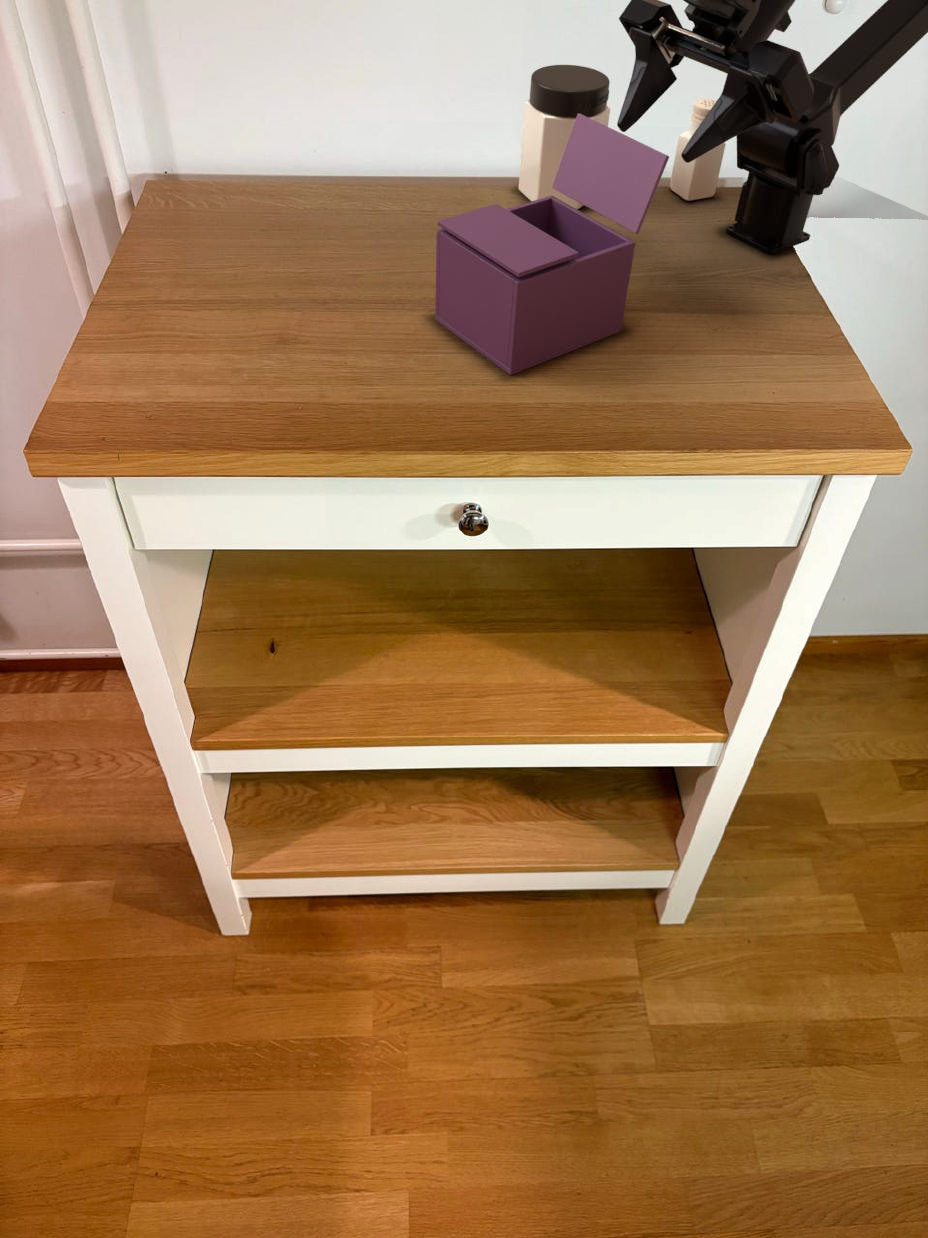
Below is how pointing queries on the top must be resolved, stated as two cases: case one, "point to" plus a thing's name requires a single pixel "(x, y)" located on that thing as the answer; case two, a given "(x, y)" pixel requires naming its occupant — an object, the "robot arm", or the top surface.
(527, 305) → the box
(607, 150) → the lid
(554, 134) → the jar
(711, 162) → the pepper shaker
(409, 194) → the top surface
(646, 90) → the robot arm
